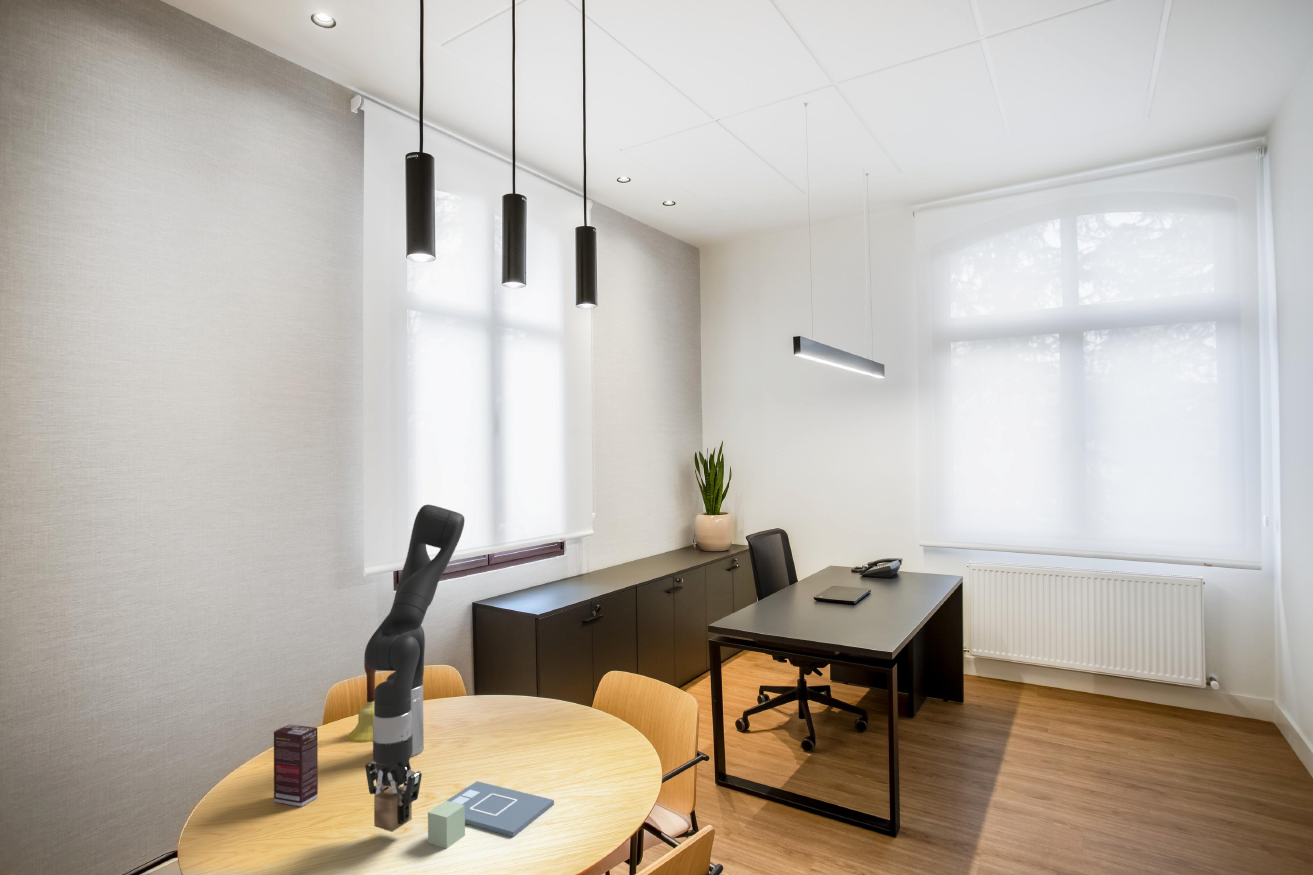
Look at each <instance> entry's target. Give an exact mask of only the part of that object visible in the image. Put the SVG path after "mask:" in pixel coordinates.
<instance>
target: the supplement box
mask: <svg viewBox="0 0 1313 875" xmlns="http://www.w3.org/2000/svg"><path fill="white" fill-rule="evenodd" d="M318 746H319V745H318V727H313V726H304V725H297V724H288V725H286V726H283V727H280V728H278V729H276V730H274V731H273V802H274V803H278V804H283V803H284V804H285V805H289V806H290V805H291V806H295V807H300V808H301V807H303V806H306V805H308V804H309V803H311V802H313V801H314V800H316V799H317V798H318V797H319V794H318V790H319V787H318V786H319V782H318V778H319V777H318V775H319V774H318V763H319V762H318V757H319V756H318V755H319V754H318V752H319V751H318V748H319V747H318Z"/></svg>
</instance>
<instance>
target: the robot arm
mask: <svg viewBox="0 0 1313 875" xmlns="http://www.w3.org/2000/svg"><path fill="white" fill-rule="evenodd" d="M464 527H465V516H464V515H463V514H462V513H460V512H457V511H453V510H451V509H447V508H444V507H441V506H437V505H432V504H424V505H422V506H421V508H419V509H418V512H417V514H416V516H415V518H414V522H413V526H412V530H411V535H410V540H409V544H408V545H409V546H408V550H407V554H406V558H405V562H404V565H403V567H402V571H401V574H400V577H399V580H398V582H397V586H396V590H395V594H394V599H393V602H392V605H391V606H392V607H391V609H390V611H389V613H388V615H387V616H385V618H384V619H383V621H382V622H381V623H380V625H379V626H378V628H377V629H376V630H375V632H373V634H372V636H371V637H370V638H369V640H368V642H367V644H366V646H365V649H364V657H365V662H366V665H367V666H368V667H369V668H370V669H372V670H376V671H379V672H381V671H382V672H383V671H385V672H386V671H387V672H392V673H391V674H389V675H388V676H387V677H386V681H381V683H379V684H377V685H376V686H375V692H374V722H373V741H372V759H373V761H371V762H369V763H367V764H365V767H364V768H365V774H366V775H365V776H366V781H367V787H368V792H369V794H370V795H374V796H375V795H377V794H378V793H382V791H384V790H386V789H389V788H390V787H392V791H393V794H394V795H396V798H397V802H398V824H403V823H405V822H406V821H407V820H408V819H409V804H410V803H411V802H412V803H414V801H417V800H418V798H419V794H420V793H419V792H420V787H421V781H422V776H423V775H422V774H423V773H422V772H421V771H419V770H418V771H416V772H415V771H413V770H412V767H411V764H410V759H411V757H414V756H417V755H418V754H420V753H422V752H423V751H424V748H425V747H424V745H425V743H424V740H425V739H424V737H425V736H424V733H425V732H424V731H425V730H424V728H425V727H424V725H425V724H424V673H425V648H426V638H425V637H426V636H425V631H424V628H423V626H422V624H423V622H424V618H425V616H426V613H427V610H428V608H429V607H430V605H431V604H432V602H433V600H434V597H435V594H436V590H437V587H438V584H439V582H440V580H441V579H442V576H443V575H444V573H445V571H446V569H447V566H448V565H449V563H450V561H451V558H453V557H452V556H453V555H454V553H455V551H456V549H457V546H458V544H459V542H460V538H461V537H462V533H463V530H464ZM427 546H429V547H434V548H437V549H440V550H439V551H438V552H437V554H436V555H435V556H434V558H432V559H431V558H430V556H429V554H428V551H427ZM374 781H375V782H376V783H375V782H374ZM375 784H376V785H375ZM398 786H400V787H401V788H398ZM403 791H404V794H405V797H404V798H403V797H402V792H403ZM405 824H406V823H405Z"/></svg>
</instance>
